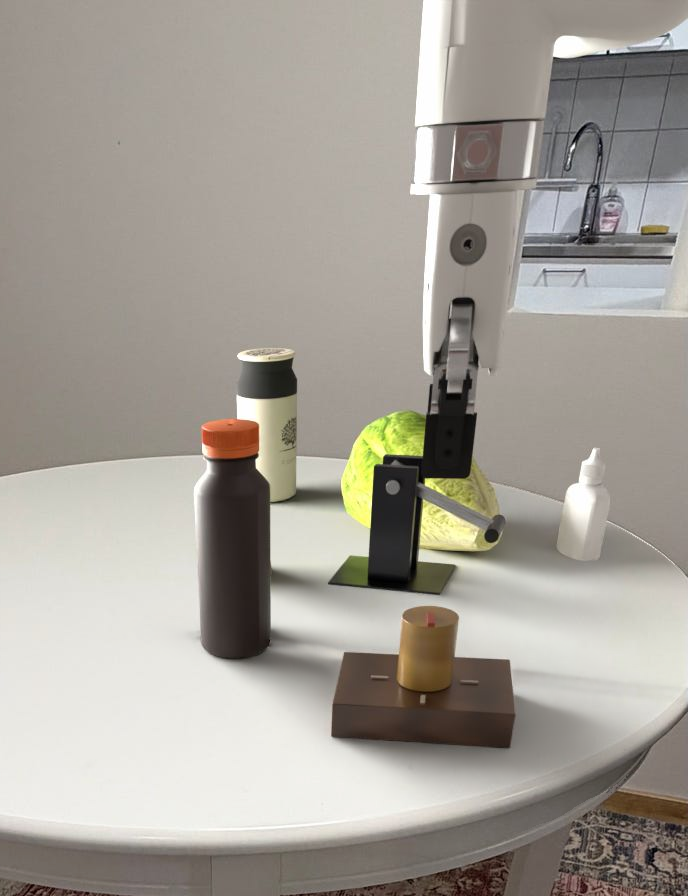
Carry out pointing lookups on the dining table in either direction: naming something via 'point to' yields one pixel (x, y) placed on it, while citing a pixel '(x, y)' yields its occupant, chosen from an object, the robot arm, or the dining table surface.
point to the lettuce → (438, 525)
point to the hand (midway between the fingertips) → (445, 458)
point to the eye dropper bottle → (585, 512)
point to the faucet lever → (462, 511)
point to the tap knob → (427, 648)
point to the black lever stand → (395, 535)
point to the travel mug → (271, 414)
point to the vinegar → (233, 542)
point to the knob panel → (424, 703)
